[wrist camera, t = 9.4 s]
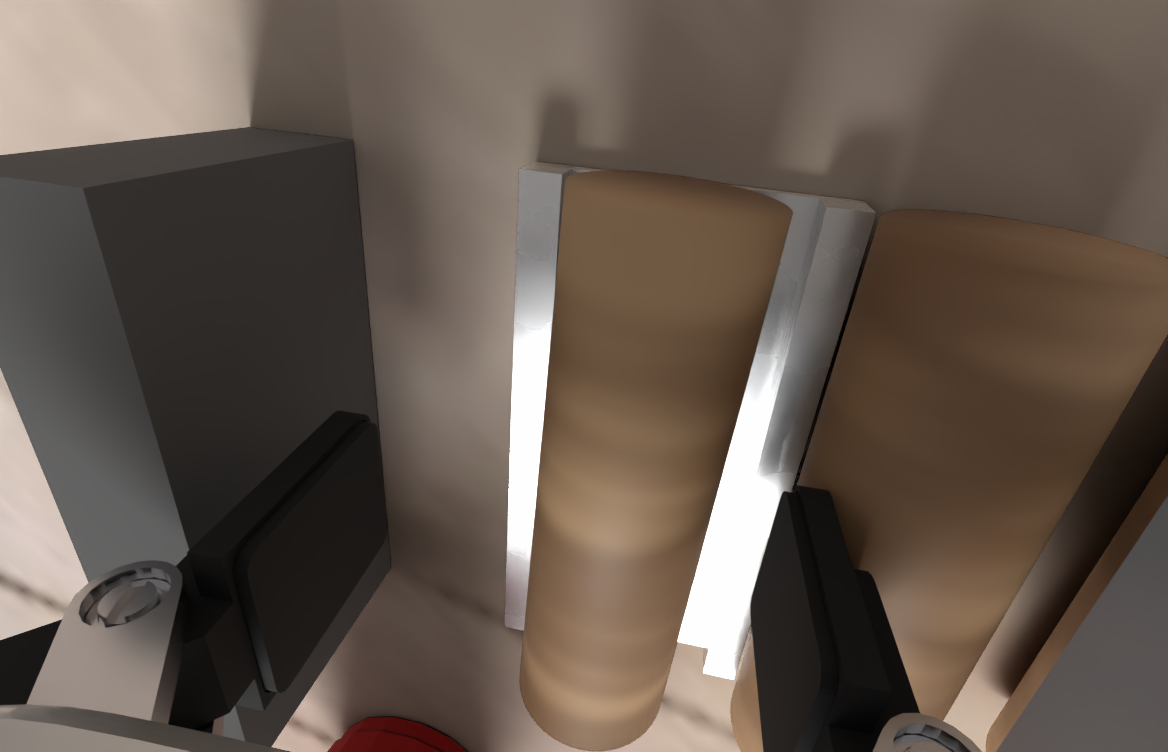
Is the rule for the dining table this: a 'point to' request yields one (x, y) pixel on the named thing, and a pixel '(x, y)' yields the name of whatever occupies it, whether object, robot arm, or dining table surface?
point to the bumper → (184, 338)
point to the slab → (1110, 666)
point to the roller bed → (976, 431)
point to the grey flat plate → (767, 415)
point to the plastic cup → (393, 737)
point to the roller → (636, 434)
